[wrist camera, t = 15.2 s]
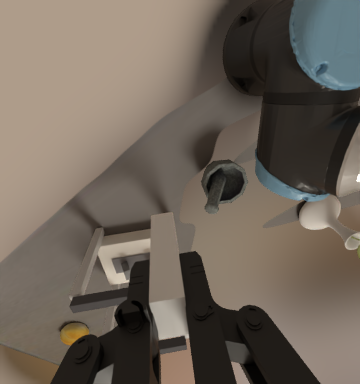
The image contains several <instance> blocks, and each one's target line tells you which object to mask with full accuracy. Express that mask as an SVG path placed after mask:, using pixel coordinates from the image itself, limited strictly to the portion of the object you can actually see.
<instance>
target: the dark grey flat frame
mask: <svg viewBox="0 0 360 384" xmlns="http://www.w3.org/2000/svg"><path fill="white" fill-rule="evenodd" d="M127 294H128V288H122V289H117V290H111V291H105V292H99V293H93V294H88V295H82V296H76V297H73V298H72V301H71V304H70V306H69V307H70V308H71V310H72V312H73V313H77V312H82V311H88V310H94V309H99V308H105V307H111V306H117V305H120V304H121V303H122V302H124V301H125V300H127ZM158 346H159V350H160V354H165V353H170V352H176V351H181V350H186V349H187V346H186V339H185V336H182V337H176V338H171V339H166V340H160V341H158Z"/></svg>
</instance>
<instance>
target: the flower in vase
mask: <svg viewBox="0 0 360 384" xmlns="http://www.w3.org/2000/svg"><path fill="white" fill-rule="evenodd" d="M340 209H341V205H340V202H339V200H338V198H337V197H336V196H334V195H331V194H330V195H329V196H328V197H326V198H325V199H323V200H320V201H314V202H306V203H305V204H304V205H303V207H302V208H301V210H300V213H299V221H300V223H301V225H302V226H303V227H305V228H307V229H311V230H318V229H323V228H326V227H331V228H333V229H334V230H335V231H336V232H337V233H338V234H339V235H340V236H341V237H342V238H343V240H344V242H345V247H346V248H347V249H349V250H353V249H356V248H358V249H357V253H358V257H359V259H360V232H356V231H353V230H351V229H349V228H347V227H345V226H344V225H343V224H341V223H340V222H339V221H338V219H337V218H338V216H339V214H340Z"/></svg>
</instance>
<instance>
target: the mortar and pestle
mask: <svg viewBox="0 0 360 384" xmlns="http://www.w3.org/2000/svg"><path fill="white" fill-rule="evenodd" d="M201 182H202V187H203V189H204V192H205V194H206V196H207V198H208V201H207V204H206V206H205V210H206V212H208V213H210V214H215V213H217V212H218V210H219V208H218V205H219V204H223V203H231V202H233V201H234V200H236V199H237V198H238V197H239V196H241V195H242V194H243V193H244V190H245V187H246V185H247V183H248V180H247V177H246V173H245V170H244V169H243V168H242V167H240V166H239V165H237V164H236V163H234V162H232V161H231V160H221V161H213V162H212V163H211V164H209V165H208V166H207V167H206V169H205V171H204V175H203V178H202V181H201Z"/></svg>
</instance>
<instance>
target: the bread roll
mask: <svg viewBox="0 0 360 384" xmlns="http://www.w3.org/2000/svg"><path fill="white" fill-rule="evenodd" d="M88 333H89V329H88V328H87V326H86V325H85V324H83V323H69V324H67V325H66V326H65V327H64V328H63V329H62V330H61V333H60V338H61V340H62V342H63V343H65V344H67V345H72V344H73V343H74V342H75V341H76V340H77V339H78V338H80V337H82V336H84V335H88Z"/></svg>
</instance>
